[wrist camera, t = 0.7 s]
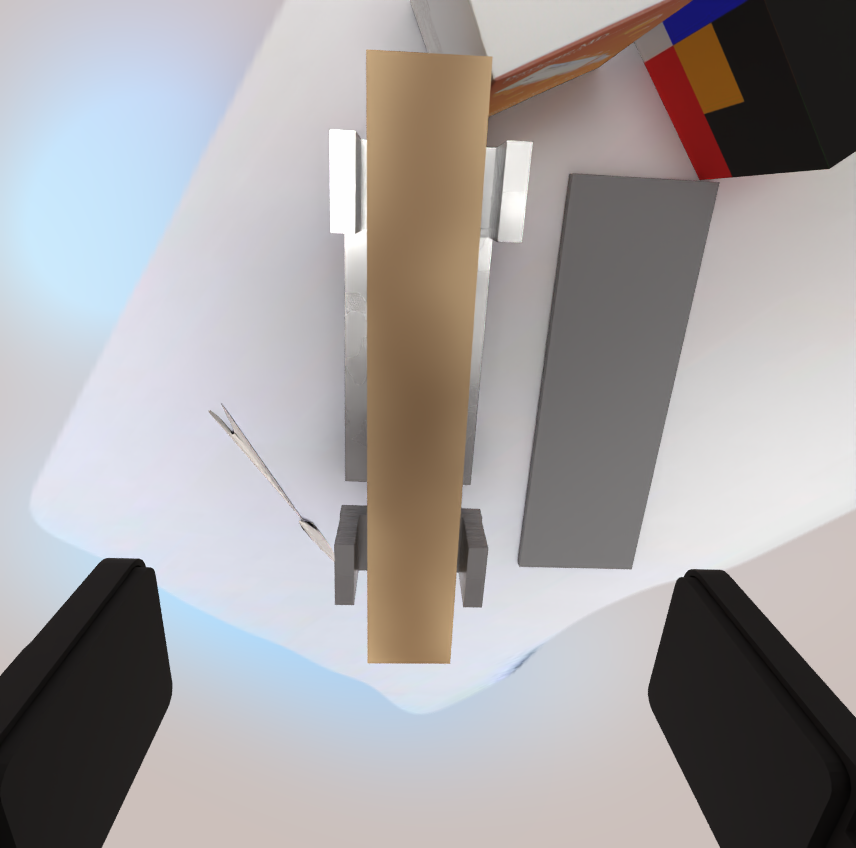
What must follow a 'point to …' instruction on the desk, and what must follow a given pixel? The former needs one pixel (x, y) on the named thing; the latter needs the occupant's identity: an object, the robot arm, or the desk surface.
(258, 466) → the silver long thin piece
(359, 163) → the rack
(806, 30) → the puzzle toy
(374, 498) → the rail
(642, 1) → the small box
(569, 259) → the mat
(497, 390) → the desk surface
